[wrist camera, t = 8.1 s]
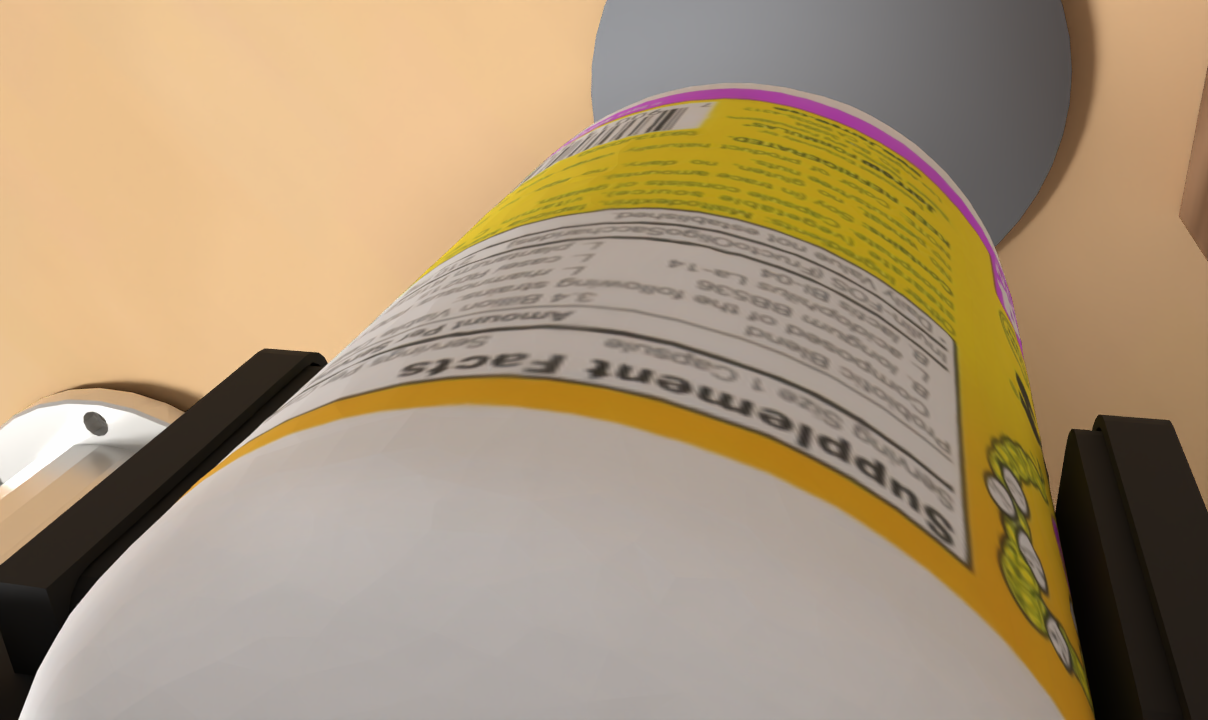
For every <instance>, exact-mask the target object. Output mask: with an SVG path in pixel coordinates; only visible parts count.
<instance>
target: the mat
mask: <svg viewBox="0 0 1208 720" xmlns="http://www.w3.org/2000/svg"><path fill="white" fill-rule="evenodd" d="M1071 76H1072V65H1071V51H1070V37H1069V33H1068V28H1067V23H1066V19H1065V14H1064V9H1063V5H1062V2H1061V0H607V2H606V4H605V7H604V10H603V14H602V17H601V21H600V24H599V28H598V31H597V35H596V41H595V48H594V55H593V62H592V86H591V97H592V106H593V116H594V123H595V122H597V121H599V120H601V119H602V118H604V117H606V116H607V115H609V114H612V113H614V112H616V111H618V110H620V109H622V108H624V107H627V106H629V105H631V104H633V103H636V102H638V101H641V100H643V99H646V98H648V97H651V96H655V95H658V94H662V93H665V92H669V91H674V90H678V89H683V88H687V87H692V86H701V85H711V84H721V83H753V84H762V85H771V86H779V87H786V88H790V89H794V90H798V91H803V92H807V93H811V94H815V95H820V96H824V97H827V98H829V99H832V100H835V101H838V102H841V103H844V104H847V105H850V106H852V107H854V108H856V109H858V110H860V111H862V112H864V113H866V114H869V115H871V116H873V117H874V118H876V119H878V120H879V121H881V122H883V123H885V124H886V125H888V126H890V127H891V128H893V129H894V130H896V131H897V132H899V133H900V134H901V135H903V136H904V137H906V138H907V139H909V140H910V141H911V142H913V143H914V144H916V145H917V146H918V147H919V148H920V149H921V150H922V151H924V152H925V153H926V154H927V155H928V156H929V157H930V158H932V159H933V160H934V161H935V162H936V163H937V164H938V165H939V166H940V167H941V168H942V169H943V170H944V171H945V172H946V173H947V174H948V175H949V177H950V178H951V179H952V180H953V181H954V183H955V184H956V185H957V186H958V188H959V189H960V190H961V191H962V193H963V194H964V195H965V196H966V198H967V199H968V200H969V202H970V203H971V205H972V207H973V208H974V210H975V211H976V213H977V215H978V216H979V218H980V220H981V221H982V223H983V225H984V227H985V228H986V230H987V232H988V234H989V236H990V238H991V240H992V242H993V245H994V247H995V246H996V245H997V244H998V243H999V242H1000V241H1001V240H1002V239H1003V238H1004V237H1005V236H1006V235H1007V233H1008V232H1009V231H1010V230H1011V229H1012V228H1013V227H1014V226H1015V224H1016V223H1017V222H1018V221H1019V220H1020V219H1021V217H1022V216H1023V214H1024V213H1025V211H1026V210H1027V208H1028V207H1029V205H1030V204H1031V203H1032V201H1033V200H1034V198H1035V197H1036V195H1037V194H1038V192H1039V190H1040V188H1041V186H1042V184H1043V182H1044V180H1045V178H1046V176H1047V174H1048V172H1049V170H1050V168H1051V167H1052V164H1053V161H1054V159H1055V156H1056V153H1057V150H1058V147H1059V145H1060V142H1061V139H1062V136H1063V132H1064V127H1065V123H1066V118H1067V113H1068V108H1069V104H1070V90H1071Z"/></svg>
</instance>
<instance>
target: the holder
mask: <svg viewBox="0 0 1208 720" xmlns="http://www.w3.org/2000/svg"><path fill="white" fill-rule="evenodd" d="M1179 217H1180V219H1181V220H1182V222H1183V223H1184V225H1185V226H1186V228H1187V230H1188V231H1189V233H1190V234H1191V236H1192V237H1193V239H1194V241H1195V242H1196V244H1197V245H1198V247H1199V248H1200V250H1201V252H1202V253H1203V255H1204V256H1205V258H1206V259H1207V261H1208V68H1207V74H1206V79H1205V84H1204V89H1203V94H1202V100H1201V105H1200V110H1199V115H1198V120H1197V126H1196V131H1195V136H1194V141H1193V146H1192V152H1191V157H1190V162H1189V167H1188V172H1187V178H1186V183H1185V188H1184V193H1183V199H1182V204H1181V209H1180V214H1179Z"/></svg>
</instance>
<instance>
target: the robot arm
mask: <svg viewBox="0 0 1208 720" xmlns="http://www.w3.org/2000/svg"><path fill="white" fill-rule="evenodd" d="M327 364H328V363H327V361H326V359H325V358H324V357H323V356H322V355H321V354H320V353H316V352H303V351H290V350H278V349H263V350H261V351H259V352H258V353H256V354H255V355H254V356H253V357H252V358H250V359H249V360H248V361H247V362H246V363H244V364H243V365H242V366H241V367H239V368H238V369H237V370H236V371H235V372H233V373H232V374H231V375H230V376H229V377H227V378H226V379H225V380H224V381H223V382H221V383H220V384H219V385H218V386H216V387H215V388H214V389H213V390H212V391H210V392H209V393H208V394H207V395H206V396H204V397H203V398H202V399H201V400H199V401H198V402H197V403H196V404H195V405H193V406H192V407H191V408H190V409H189V410H187V411H186V412H183V411H181V410H179V409H177V408H175V407H173V406H171V405H169V404H167V403H164V402H161V401H158V400H154V399H151V398H148V397H145V396H142V395H139V394H136V393H132V392H125V391H118V390H111V389H103V388H91V389H74V390H67V391H64V392H60V393H57V394H53V395H50V396H47V397H43V398H41V399H40V400H38V401H36V402H35V403H33V404H32V405H30V406H28V407H27V408H25V409H23V410H22V411H20V412H18V413H17V414H15V415H14V416H12V417H11V418H10V419H9V420H8V421H6V422H5V423H4V424H3V425H2V426H0V720H18V719H19V717H20V714H21V712H22V709H23V707H24V704H25V701H26V699H27V696H28V694H29V691H30V689H31V686H32V684H33V681H34V678H35V676H36V673H37V671H38V669H39V667H40V665H41V664H42V662H43V660H44V658H45V656H46V655H47V653H48V651H49V649H50V647H51V646H52V644H53V642H54V640H55V638H56V637H57V635H58V633H59V632H60V630H61V628H62V627H63V625H64V624H65V622H66V620H67V619H68V617H69V615H70V614H71V612H72V611H73V610H74V609H75V608H76V606H77V605H78V604H79V603H80V601H81V600H82V599H83V598H84V597H85V595H86V594H87V593H88V592H89V590H90V589H91V588H92V587H93V586H94V584H95V583H96V582H97V581H98V580H99V578H100V577H101V576H102V575H103V574H104V573H105V572H106V571H107V570H108V569H109V568H110V567H111V566H112V565H113V564H114V563H115V562H116V561H117V560H118V559H119V558H120V556H121V555H122V554H123V553H124V552H125V551H126V550H127V549H128V548H129V547H130V546H131V545H132V544H133V543H134V542H135V541H136V540H137V539H138V538H140V537H141V536H142V535H143V534H144V533H145V532H146V531H147V530H148V529H149V528H150V527H151V526H152V525H153V524H154V523H155V522H157V521H158V520H159V519H160V518H161V517H162V516H163V515H164V514H165V513H166V512H167V511H168V510H169V509H170V508H171V507H172V506H173V505H174V504H175V503H176V502H177V501H178V500H179V499H180V498H181V497H182V496H183V495H184V494H185V493H186V492H187V491H188V490H189V489H190V488H191V487H192V486H193V485H194V484H195V483H196V482H197V481H199V480H200V479H201V478H202V477H204V476H205V475H206V474H207V473H208V472H210V471H211V470H212V469H213V468H215V467H216V466H217V465H218V464H219V463H220V462H221V461H222V460H223V459H224V458H225V457H226V456H227V455H228V454H229V453H231V452H232V451H233V450H234V449H235V448H236V447H237V446H238V445H239V444H240V443H242V442H243V441H244V440H245V439H246V438H247V437H249V436H250V435H251V434H252V433H253V432H254V431H255V430H256V429H257V428H258V427H259V426H260V425H261V424H262V423H263V422H264V421H265V420H266V419H267V418H269V417H270V416H271V415H272V414H274V413H275V412H276V411H277V410H278V409H279V408H280V407H281V406H282V405H284V404H285V403H286V402H287V401H288V400H289V399H290V398H291V397H292V396H293V395H294V394H296V393H297V392H298V391H299V390H300V389H301V388H302V387H303V386H304V385H305V384H306V383H308V382H309V381H310V380H311V379H312V378H313V377H314V376H315V375H316V374H317V373H318V372H320V371H321V370H322V369H323V368H324V367H325V366H326V365H327ZM1055 516H1056V522H1057V527H1058V532H1059V537H1060V542H1061V547H1062V552H1063V557H1064V561H1065V566H1066V571H1067V576H1068V582H1069V587H1070V593H1071V598H1072V603H1073V609H1074V614H1075V619H1076V624H1077V629H1078V634H1079V639H1080V644H1081V649H1082V654H1083V659H1084V664H1085V669H1086V673H1087V678H1088V683H1089V688H1090V693H1091V698H1092V702H1093V708H1094V713H1095V718H1096V720H1208V512H1207V509H1206V507H1205V504H1204V502H1203V499H1202V497H1201V494H1200V492H1199V489H1198V487H1197V484H1196V482H1195V479H1194V477H1193V474H1192V472H1191V469H1190V467H1189V464H1188V462H1187V459H1186V457H1185V454H1184V452H1183V449H1182V447H1181V444H1180V442H1179V439H1178V437H1177V434H1176V432H1175V429H1174V427H1173V425H1172V423H1171V422H1170V420H1159V419H1147V418H1134V417H1121V416H1109V415H1098V416H1097V418H1096V419H1095V422H1094V425H1093V429H1092V431H1091V430H1079V429H1071V431H1070V433H1069V436H1068V439H1067V444H1066V450H1065V456H1064V462H1063V468H1062V474H1061V481H1060V487H1059V493H1058V499H1057V505H1056V512H1055Z"/></svg>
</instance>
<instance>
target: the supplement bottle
mask: <svg viewBox="0 0 1208 720" xmlns="http://www.w3.org/2000/svg"><path fill="white" fill-rule="evenodd" d="M18 720H1096V718H1095V713H1094V708H1093V702H1092V698H1091V693H1090V688H1089V683H1088V678H1087V673H1086V669H1085V664H1084V659H1083V654H1082V649H1081V644H1080V639H1079V634H1078V629H1077V624H1076V619H1075V614H1074V609H1073V603H1072V598H1071V593H1070V587H1069V582H1068V576H1067V571H1066V566H1065V561H1064V557H1063V552H1062V547H1061V542H1060V537H1059V532H1058V527H1057V522H1056V516H1055V511H1054V506H1053V502H1052V497H1051V492H1050V485H1049V475H1048V472H1047V468H1046V464H1045V461H1044V457H1043V452H1042V445H1041V439H1040V434H1039V430H1038V425H1037V420H1036V414H1035V409H1034V405H1033V400H1032V395H1031V389H1030V384H1029V380H1028V376H1027V371H1026V367H1025V362H1024V357H1023V351H1022V343H1021V339H1020V335H1019V330H1018V325H1017V320H1016V315H1015V311H1014V306H1013V302H1012V297H1011V294H1010V292H1009V289H1008V286H1007V282H1006V279H1005V275H1004V272H1003V269H1002V266H1001V263H1000V260H999V257H998V254H997V251H996V249H995V247H994V245H993V242H992V240H991V238H990V236H989V234H988V232H987V230H986V228H985V227H984V225H983V223H982V221H981V220H980V218H979V216H978V215H977V213H976V211H975V210H974V208H973V207H972V205H971V203H970V202H969V200H968V199H967V198H966V196H965V195H964V194H963V193H962V191H961V190H960V189H959V188H958V186H957V185H956V184H955V183H954V181H953V180H952V179H951V178H950V177H949V175H948V174H947V173H946V172H945V171H944V170H943V169H942V168H941V167H940V166H939V165H938V164H937V163H936V162H935V161H934V160H933V159H932V158H930V157H929V156H928V155H927V154H926V153H925V152H924V151H922V150H921V149H920V148H919V147H918V146H917V145H916V144H914V143H913V142H911V141H910V140H909V139H907V138H906V137H904V136H903V135H901V134H900V133H899V132H897V131H896V130H894V129H893V128H891V127H890V126H888V125H886V124H885V123H883V122H881V121H879V120H878V119H876V118H874V117H873V116H871V115H869V114H866V113H864V112H862V111H860V110H858V109H856V108H854V107H852V106H850V105H847V104H844V103H841V102H838V101H835V100H832V99H829V98H827V97H824V96H820V95H815V94H811V93H807V92H803V91H798V90H794V89H790V88H786V87H779V86H771V85H762V84H753V83H721V84H711V85H701V86H692V87H687V88H683V89H678V90H674V91H669V92H665V93H662V94H658V95H655V96H651V97H648V98H646V99H643V100H641V101H638V102H636V103H633V104H631V105H629V106H627V107H624V108H622V109H620V110H618V111H616V112H614V113H612V114H609V115H607V116H606V117H604V118H602V119H601V120H599V121H597V122H595V123H594V124H592V125H591V126H589V127H588V128H586V129H585V130H583V131H582V132H580V133H579V134H578V135H576V136H575V137H574V138H572V139H571V140H570V141H568V142H567V143H566V144H565V145H563V146H562V147H561V148H560V149H558V150H557V151H556V152H555V153H553V154H552V155H551V156H550V157H548V158H547V159H546V160H545V161H544V162H543V163H541V164H540V165H539V166H538V167H537V168H536V169H535V170H534V171H533V172H531V173H530V174H529V175H528V176H527V177H526V178H525V179H524V180H523V181H522V182H521V183H520V184H519V185H518V186H517V187H516V188H515V189H514V190H513V191H512V192H511V193H510V194H508V195H507V196H506V197H505V198H504V199H503V200H502V201H501V202H499V203H498V204H497V205H496V206H495V207H494V208H493V209H492V210H491V211H490V212H488V213H487V214H486V215H485V216H484V217H483V218H482V219H481V220H480V221H479V222H478V223H477V224H476V225H475V226H474V227H473V228H472V229H471V230H470V231H468V232H467V233H466V234H465V235H464V236H463V237H462V238H461V239H460V240H459V241H458V242H457V243H456V244H455V245H454V246H453V247H452V248H451V249H450V250H448V251H447V252H446V253H445V254H444V255H443V256H442V257H441V258H440V259H439V260H438V261H437V262H436V263H435V264H434V265H432V266H431V267H430V268H429V269H428V270H427V271H426V272H425V273H424V274H423V275H422V276H421V277H420V278H419V279H418V280H416V281H415V282H414V283H413V284H412V285H411V286H410V287H409V288H408V289H407V290H406V291H405V292H404V293H403V294H401V295H400V296H399V297H398V298H397V299H396V300H395V301H394V302H393V303H392V304H391V305H390V306H389V307H388V308H387V309H386V310H385V311H384V312H383V313H382V314H381V315H380V316H379V317H378V318H377V319H376V320H375V321H374V322H373V323H371V324H370V325H369V326H368V327H367V328H366V329H365V330H364V331H363V332H362V333H361V334H360V335H359V336H357V337H356V338H355V339H354V340H353V341H352V342H351V343H350V344H349V345H348V346H347V347H346V348H345V349H343V350H342V351H341V352H340V353H339V354H338V355H337V356H336V357H335V358H334V359H333V360H332V361H330V362H329V363H328V364H327V365H326V366H325V367H324V368H323V369H322V370H321V371H320V372H318V373H317V374H316V375H315V376H314V377H313V378H312V379H311V380H310V381H309V382H308V383H306V384H305V385H304V386H303V387H302V388H301V389H300V390H299V391H298V392H297V393H296V394H294V395H293V396H292V397H291V398H290V399H289V400H288V401H287V402H286V403H285V404H284V405H282V406H281V407H280V408H279V409H278V410H277V411H276V412H275V413H274V414H272V415H271V416H270V417H269V418H267V419H266V420H265V421H264V422H263V423H262V424H261V425H260V426H259V427H258V428H257V429H256V430H255V431H254V432H253V433H252V434H251V435H250V436H249V437H247V438H246V439H245V440H244V441H243V442H242V443H240V444H239V445H238V446H237V447H236V448H235V449H234V450H233V451H232V452H231V453H229V454H228V455H227V456H226V457H225V458H224V459H223V460H222V461H221V462H220V463H219V464H218V465H217V466H216V467H215V468H213V469H212V470H211V471H210V472H208V473H207V474H206V475H205V476H204V477H202V478H201V479H200V480H199V481H197V482H196V483H195V484H194V485H193V486H192V487H191V488H190V489H189V490H188V491H187V492H186V493H185V494H184V495H183V496H182V497H181V498H180V499H179V500H178V501H177V502H176V503H175V504H174V505H173V506H172V507H171V508H170V509H169V510H168V511H167V512H166V513H165V514H164V515H163V516H162V517H161V518H160V519H159V520H158V521H157V522H155V523H154V524H153V525H152V526H151V527H150V528H149V529H148V530H147V531H146V532H145V533H144V534H143V535H142V536H141V537H140V538H138V539H137V540H136V541H135V542H134V543H133V544H132V545H131V546H130V547H129V548H128V549H127V550H126V551H125V552H124V553H123V554H122V555H121V556H120V558H119V559H118V560H117V561H116V562H115V563H114V564H113V565H112V566H111V567H110V568H109V569H108V570H107V571H106V572H105V573H104V574H103V575H102V576H101V577H100V578H99V580H98V581H97V582H96V583H95V584H94V586H93V587H92V588H91V589H90V590H89V592H88V593H87V594H86V595H85V597H84V598H83V599H82V600H81V601H80V603H79V604H78V605H77V606H76V608H75V609H74V610H73V611H72V612H71V614H70V615H69V617H68V619H67V620H66V622H65V624H64V625H63V627H62V628H61V630H60V632H59V633H58V635H57V637H56V638H55V640H54V642H53V644H52V646H51V647H50V649H49V651H48V653H47V655H46V656H45V658H44V660H43V662H42V664H41V665H40V667H39V669H38V671H37V673H36V676H35V678H34V681H33V684H32V686H31V689H30V691H29V694H28V696H27V699H26V701H25V704H24V707H23V709H22V712H21V714H20V717H19V719H18Z"/></svg>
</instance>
